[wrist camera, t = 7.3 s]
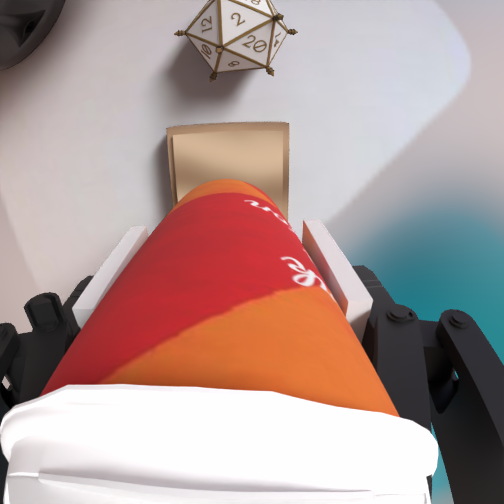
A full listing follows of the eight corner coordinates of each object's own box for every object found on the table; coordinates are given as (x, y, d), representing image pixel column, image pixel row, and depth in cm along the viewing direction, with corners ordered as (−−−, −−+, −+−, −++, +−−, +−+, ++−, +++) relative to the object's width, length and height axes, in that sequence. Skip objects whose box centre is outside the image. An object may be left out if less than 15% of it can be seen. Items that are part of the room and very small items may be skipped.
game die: (255, 40, 26) (336, 22, 19) (218, 103, 27) (300, 97, 20) (191, -13, 20) (266, -55, 13) (141, 52, 20) (206, 13, 13)
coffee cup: (295, 300, 18) (362, 565, 5) (157, 297, 18) (88, 559, 4) (312, 156, 15) (584, 416, 1) (145, 153, 14) (-131, 392, 1)
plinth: (174, 126, 27) (165, 128, 23) (283, 121, 27) (290, 123, 23) (182, 226, 31) (175, 242, 27) (282, 222, 31) (288, 238, 28)
